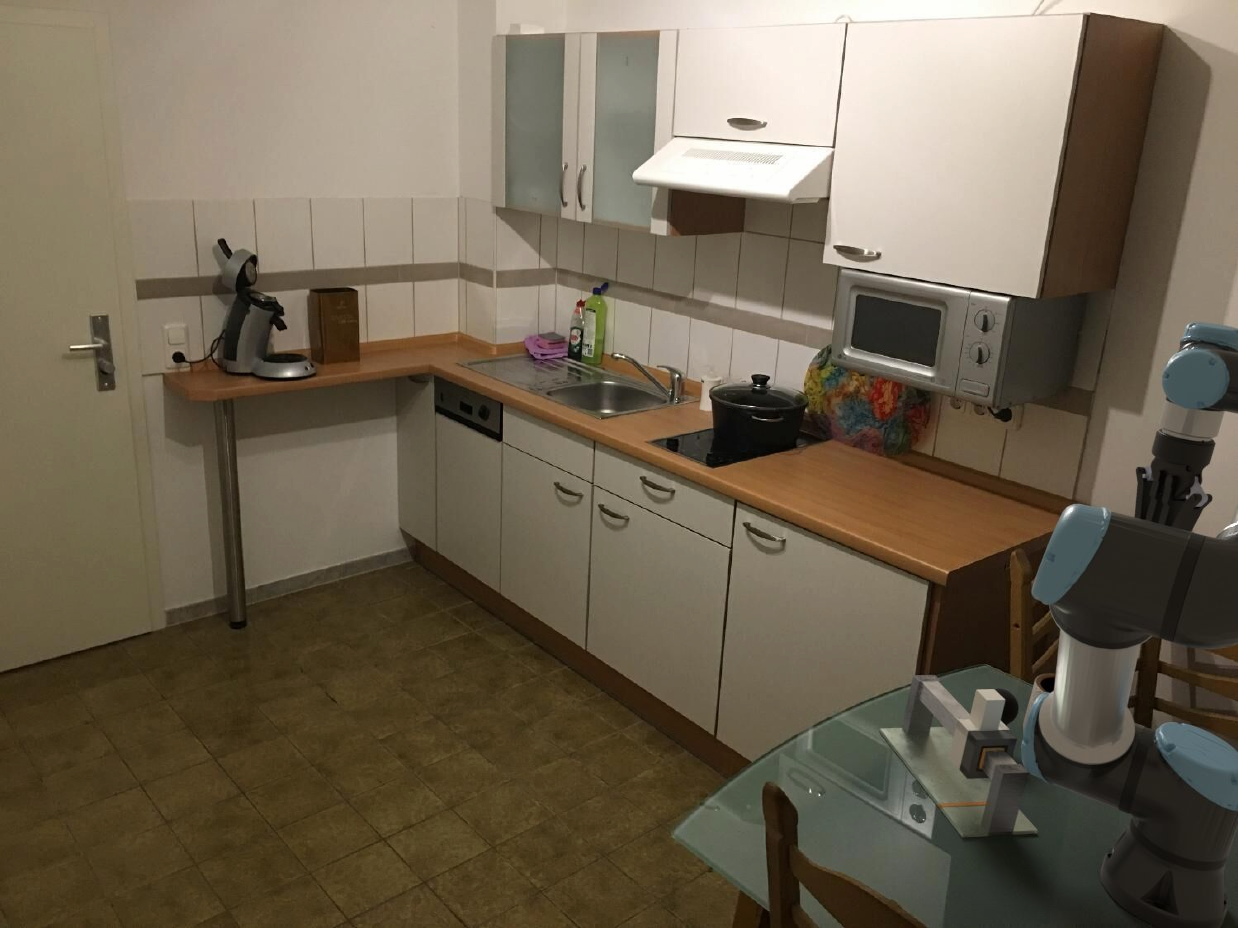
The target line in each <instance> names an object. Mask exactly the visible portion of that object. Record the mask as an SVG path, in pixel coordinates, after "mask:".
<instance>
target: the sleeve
mask: <svg viewBox="0 0 1238 928" xmlns="http://www.w3.org/2000/svg"><path fill="white" fill-rule="evenodd" d="M995 689H996V688H993V689H992V688H991V689H989V688H988V689H986V688H985V689H984V688H983V689H976V690H975V693H974V697H973V702H972V705H971V706H972V707H971V710H970V713H969V714H970V718H969V719H958V721H957V725H956V729H955V734H954V738H953V742H952V747H951V751H950V755H949V760H950V761H951V762H952V763H953V764H954V766H955V767H956V768H957V769H958V770H959V771H960V766H961V762H962V757H963V753H964V749H965V745H966V740H967V736H968V732H969V731H994V730H1009V731H1010V728H1009V727H1008V725H1007V726H1006V725H1005V724H1004V723H1003V722H1002V721H1001V716H1002V712H1003V708H1004V704H1005V699H1004V698H1003V697H1002V696H1001V695H1000V694H999V693H998V692H997V691H996V690H995Z"/></svg>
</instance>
